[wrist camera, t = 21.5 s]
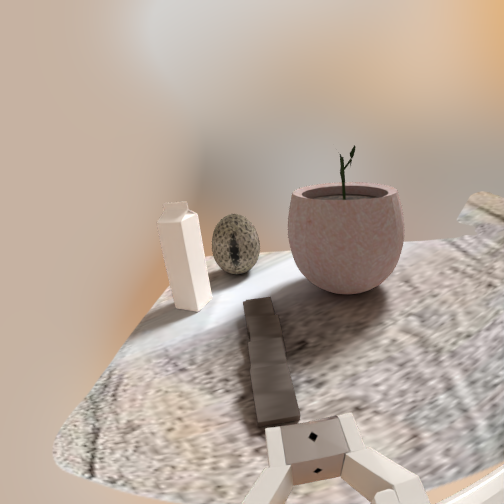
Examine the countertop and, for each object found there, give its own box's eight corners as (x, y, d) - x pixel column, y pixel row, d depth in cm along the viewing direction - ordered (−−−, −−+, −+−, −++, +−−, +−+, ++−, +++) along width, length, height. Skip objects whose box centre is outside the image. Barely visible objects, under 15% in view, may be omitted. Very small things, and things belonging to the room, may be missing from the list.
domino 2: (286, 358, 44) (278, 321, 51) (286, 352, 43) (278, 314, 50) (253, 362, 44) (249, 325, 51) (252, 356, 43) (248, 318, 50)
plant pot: (276, 308, 58) (259, 148, 48) (307, 261, 79) (298, 144, 68) (400, 319, 48) (408, 143, 38) (399, 266, 68) (399, 141, 58)
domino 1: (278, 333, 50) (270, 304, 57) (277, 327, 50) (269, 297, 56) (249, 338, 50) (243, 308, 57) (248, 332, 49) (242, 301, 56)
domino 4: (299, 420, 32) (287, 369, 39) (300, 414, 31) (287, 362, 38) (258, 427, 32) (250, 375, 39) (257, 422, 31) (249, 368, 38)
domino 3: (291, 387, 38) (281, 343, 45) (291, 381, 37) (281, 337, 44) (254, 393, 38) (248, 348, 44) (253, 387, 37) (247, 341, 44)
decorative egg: (219, 265, 83) (211, 212, 78) (262, 261, 82) (256, 207, 77) (213, 284, 72) (203, 223, 67) (262, 280, 71) (255, 217, 66)
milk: (190, 296, 68) (171, 199, 60) (213, 298, 65) (195, 197, 58) (175, 308, 63) (152, 206, 55) (199, 312, 60) (177, 204, 53)
